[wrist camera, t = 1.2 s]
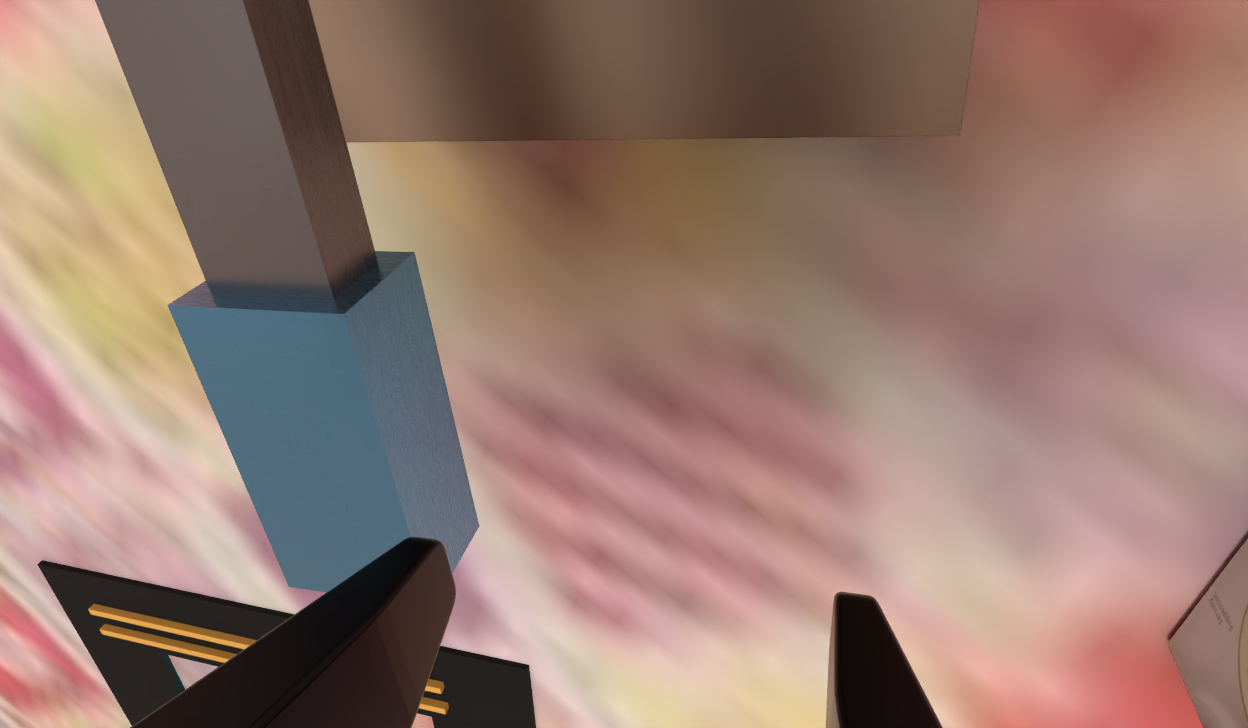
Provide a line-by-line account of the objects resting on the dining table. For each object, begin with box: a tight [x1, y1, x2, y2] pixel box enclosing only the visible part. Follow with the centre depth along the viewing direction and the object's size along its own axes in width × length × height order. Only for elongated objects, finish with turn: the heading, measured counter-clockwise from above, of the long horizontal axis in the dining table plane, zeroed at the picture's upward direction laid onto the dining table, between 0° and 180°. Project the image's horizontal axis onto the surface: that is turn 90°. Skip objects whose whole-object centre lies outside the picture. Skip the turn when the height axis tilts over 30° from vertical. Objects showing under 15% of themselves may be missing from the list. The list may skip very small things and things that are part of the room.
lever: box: [95, 0, 479, 592], centre depth 10 cm, size 15×3×2 cm, turn 5°
